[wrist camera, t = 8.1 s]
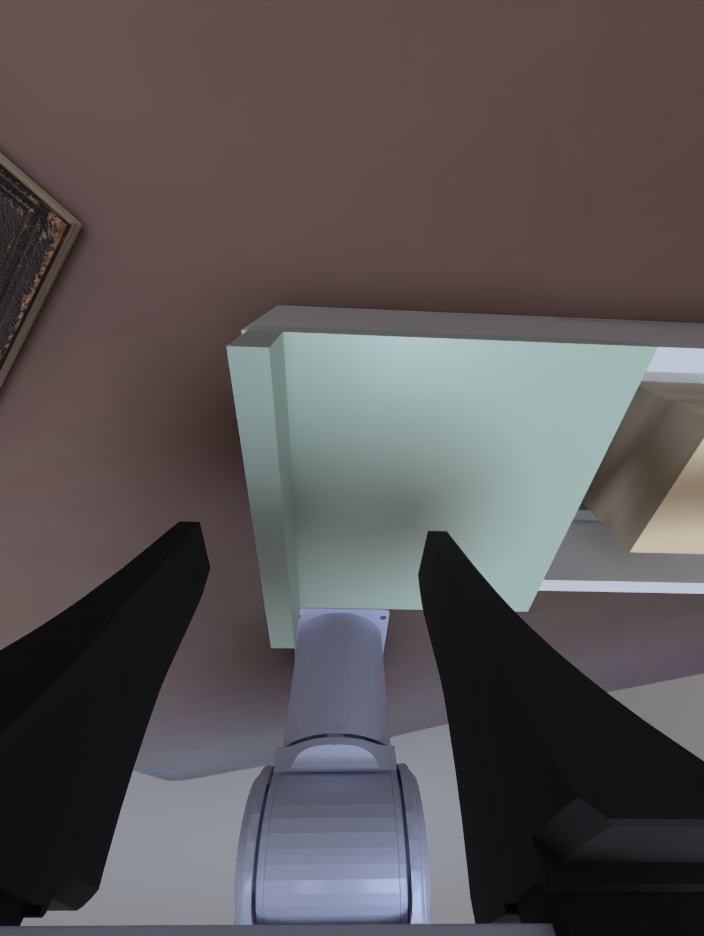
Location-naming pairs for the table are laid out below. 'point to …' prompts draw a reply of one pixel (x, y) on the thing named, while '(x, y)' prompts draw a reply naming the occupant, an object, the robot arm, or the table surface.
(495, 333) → the housing
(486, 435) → the lid
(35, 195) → the hardcover book
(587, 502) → the tan rectangular block
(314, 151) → the table surface
